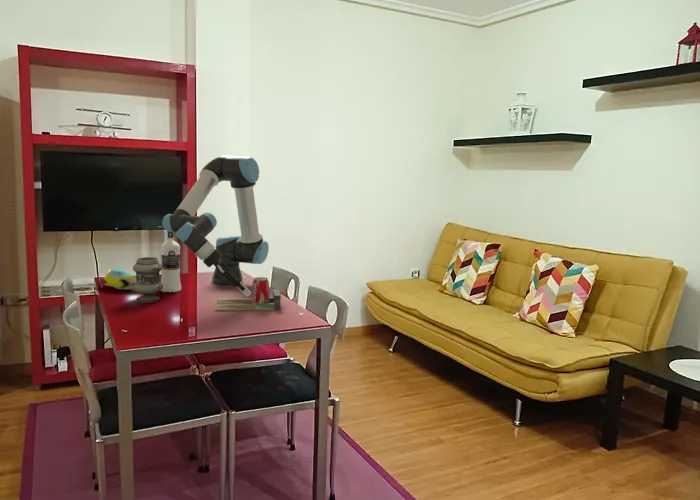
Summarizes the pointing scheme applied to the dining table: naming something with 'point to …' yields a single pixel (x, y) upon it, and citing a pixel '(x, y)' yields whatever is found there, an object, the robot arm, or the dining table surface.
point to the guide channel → (249, 303)
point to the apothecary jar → (147, 278)
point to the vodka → (170, 265)
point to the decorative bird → (119, 279)
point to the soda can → (260, 290)
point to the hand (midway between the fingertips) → (249, 294)
